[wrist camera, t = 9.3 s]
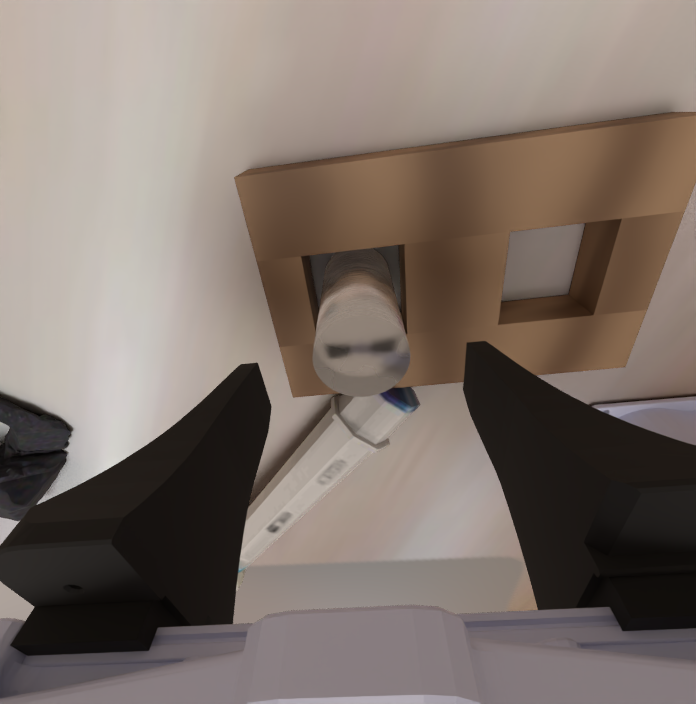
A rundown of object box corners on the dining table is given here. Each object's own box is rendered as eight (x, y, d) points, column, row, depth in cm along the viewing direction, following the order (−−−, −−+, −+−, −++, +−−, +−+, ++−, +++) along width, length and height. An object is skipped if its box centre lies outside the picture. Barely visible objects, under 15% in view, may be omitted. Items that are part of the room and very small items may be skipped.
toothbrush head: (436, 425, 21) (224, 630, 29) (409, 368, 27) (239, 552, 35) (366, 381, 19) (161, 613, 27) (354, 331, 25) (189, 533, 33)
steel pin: (387, 241, 19) (409, 310, 12) (390, 303, 21) (411, 392, 14) (319, 249, 19) (304, 321, 12) (329, 309, 21) (320, 400, 14)
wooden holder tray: (672, 112, 16) (722, 111, 14) (599, 343, 22) (625, 367, 20) (248, 169, 17) (234, 177, 15) (297, 372, 23) (293, 397, 21)
